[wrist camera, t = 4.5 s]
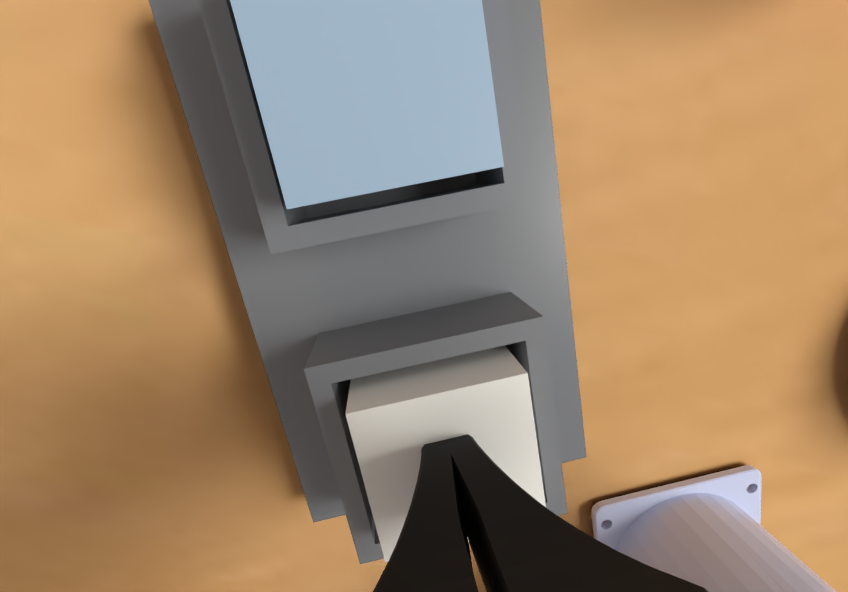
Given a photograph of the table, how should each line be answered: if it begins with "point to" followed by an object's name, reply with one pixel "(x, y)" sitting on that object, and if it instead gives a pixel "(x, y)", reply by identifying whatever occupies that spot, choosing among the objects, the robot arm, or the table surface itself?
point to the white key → (440, 426)
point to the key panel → (388, 257)
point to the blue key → (370, 92)
